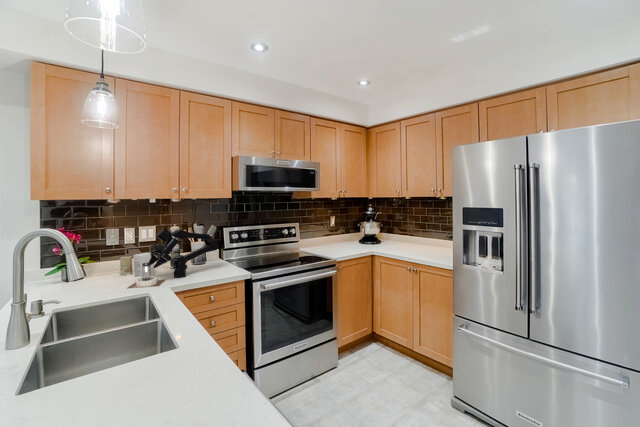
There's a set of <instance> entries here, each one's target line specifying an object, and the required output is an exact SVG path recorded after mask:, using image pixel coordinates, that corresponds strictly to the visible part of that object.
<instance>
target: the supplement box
mask: <svg viewBox="0 0 640 427" xmlns="http://www.w3.org/2000/svg"><path fill="white" fill-rule="evenodd" d="M132 257H133V270H134V273H133V274H134V277H136V278H139V277H140V278H142V263H149V261H150V258H151V255H150V252H143V253H142V252H141V253H138V254H133V256H132ZM154 265H155V263H153V264H152V265H151V275H152V276H155V268H153V267H154Z"/></svg>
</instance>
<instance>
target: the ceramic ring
mask: <svg viewBox="0 0 640 427" xmlns="http://www.w3.org/2000/svg"><path fill="white" fill-rule="evenodd" d="M158 280H159V279H158V276H151V280H148V281H142V277H140V278H139V277H138V278H137V279H135V281H134V283H135V282H136V286H138V287H142V288H145V287H144V286H151V285H154V284H157V283H158Z"/></svg>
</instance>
